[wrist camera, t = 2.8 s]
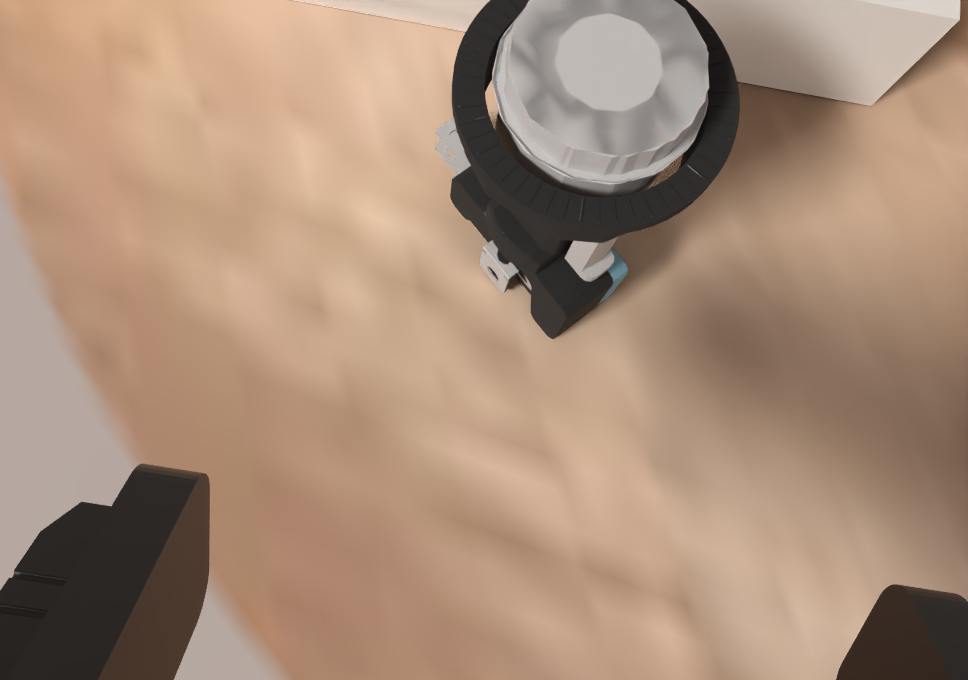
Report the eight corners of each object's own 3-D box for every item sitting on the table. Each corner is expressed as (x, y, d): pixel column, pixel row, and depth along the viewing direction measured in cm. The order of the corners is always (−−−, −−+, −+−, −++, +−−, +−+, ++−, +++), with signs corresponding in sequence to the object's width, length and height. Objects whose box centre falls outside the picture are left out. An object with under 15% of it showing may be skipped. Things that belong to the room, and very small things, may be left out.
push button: (371, 197, 25) (345, -28, 15) (517, 96, 26) (580, -173, 16) (518, 382, 24) (589, 268, 14) (664, 270, 25) (821, 93, 16)
